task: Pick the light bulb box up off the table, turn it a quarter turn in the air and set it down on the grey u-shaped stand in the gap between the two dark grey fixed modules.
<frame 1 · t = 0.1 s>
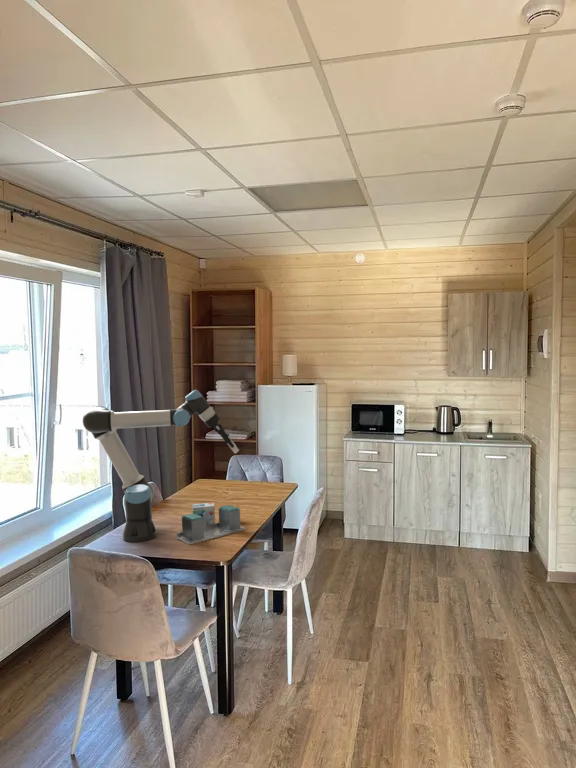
hand: (235, 449, 280), 36 cm above the table, tool tilted 35°, fingers open, 13 cm apart
grey u-shaped stand: (211, 534, 260), on the table
relay block: (232, 522, 278), on the table
light bulb box: (204, 526, 273), on the table
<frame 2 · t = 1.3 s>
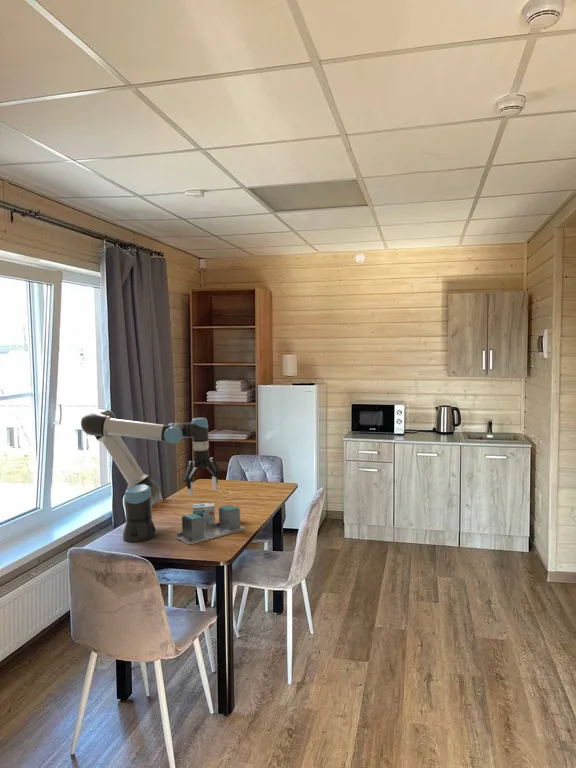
hand: (202, 492, 272), 17 cm above the table, tool pointing down, fingers open, 13 cm apart
nothing on the table moved.
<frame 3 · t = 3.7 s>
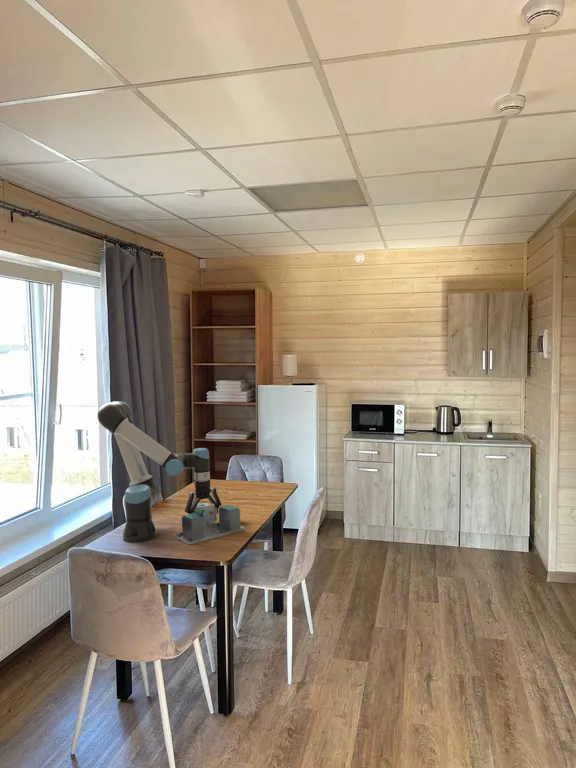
hand: (204, 523, 272), 1 cm above the table, tool pointing down, fingers closed on light bulb box, 12 cm apart
light bulb box: (204, 526, 273), on the table, touching gripper
everything else where it was.
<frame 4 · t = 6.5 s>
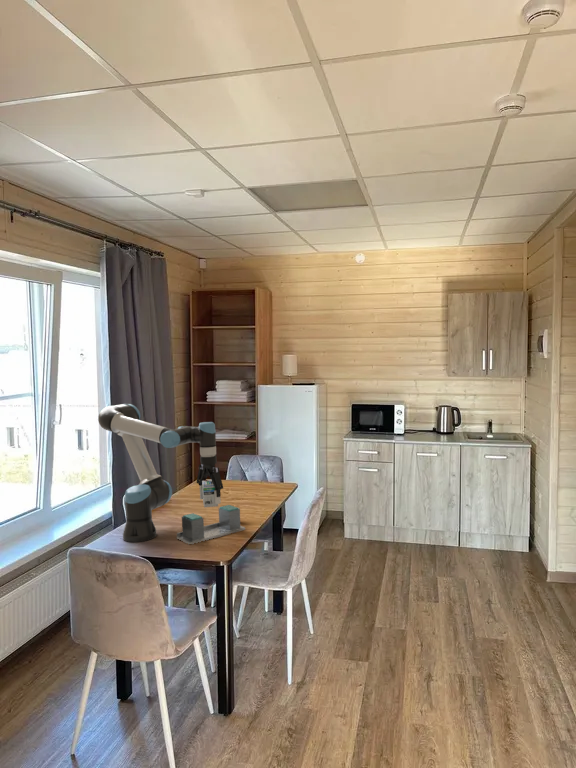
hand: (210, 501, 259), 16 cm above the table, tool pointing down, fingers closed on light bulb box, 12 cm apart
light bulb box: (210, 504, 259), point 14 cm above the table, touching gripper
everything else where it was.
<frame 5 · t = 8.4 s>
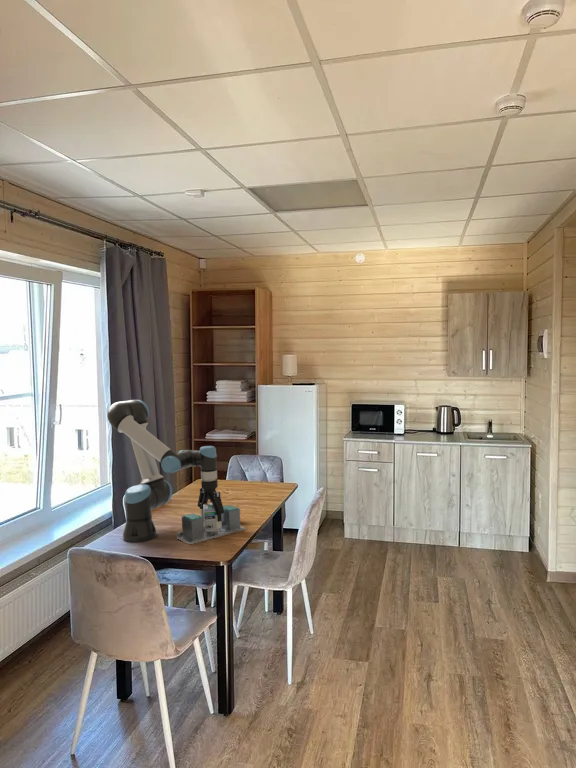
hand: (211, 525, 260), 4 cm above the table, tool pointing down, fingers closed on light bulb box, 12 cm apart
light bulb box: (211, 528, 260), point 3 cm above the table, touching gripper
everything else where it was.
when the fingers open (4 cm above the table, at t = 9.6 s): light bulb box stays where it is, resting on grey u-shaped stand.
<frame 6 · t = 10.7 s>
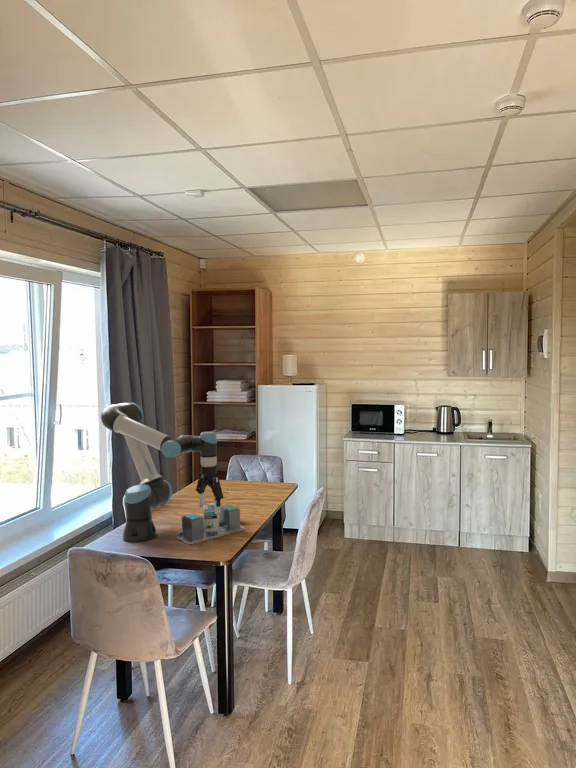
hand: (209, 510, 260), 11 cm above the table, tool pointing down, fingers open, 13 cm apart
light bulb box: (211, 528, 260), point 3 cm above the table, touching grey u-shaped stand
everything else where it was.
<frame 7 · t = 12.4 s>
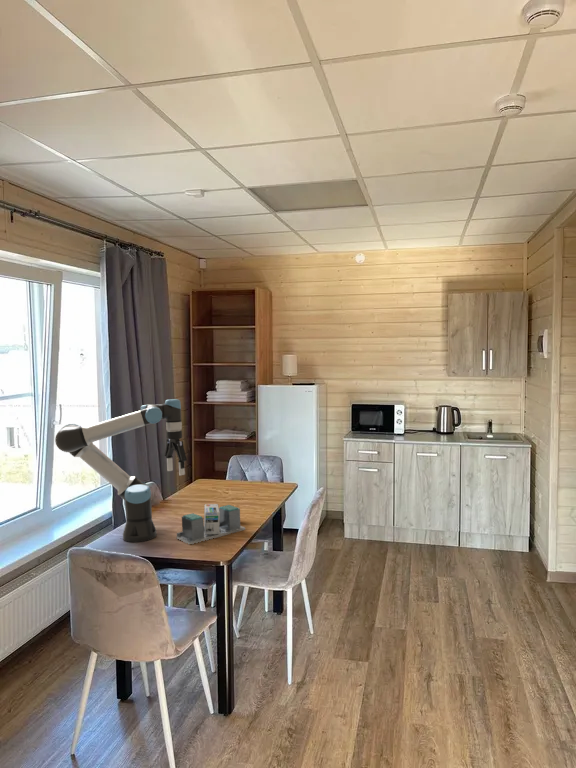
hand: (176, 472, 276), 26 cm above the table, tool pointing down, fingers open, 13 cm apart
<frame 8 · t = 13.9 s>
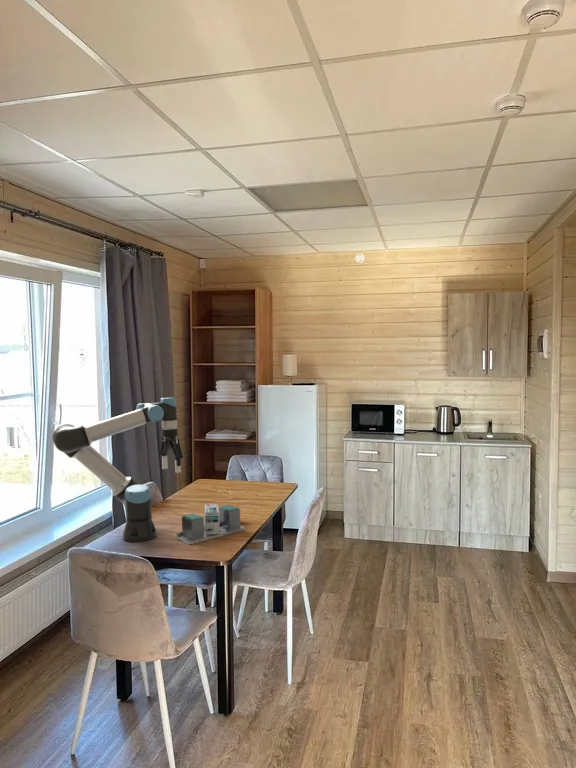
hand: (171, 470, 278), 27 cm above the table, tool pointing down, fingers open, 13 cm apart
at the end: light bulb box inside the target area (0.1 cm from its centre), point 1.8 cm above the table; light bulb box tilted 8°; the gripper is holding nothing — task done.
